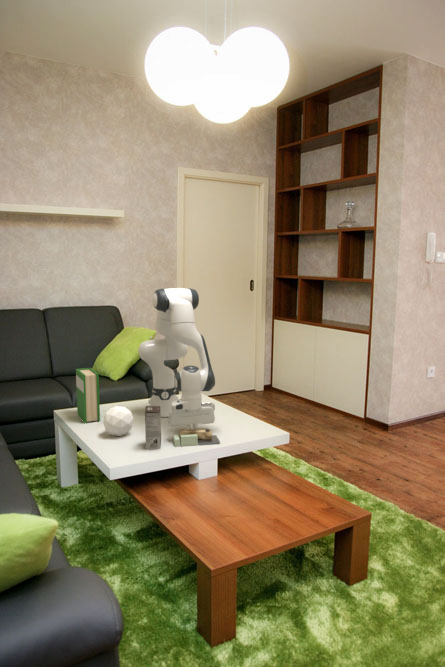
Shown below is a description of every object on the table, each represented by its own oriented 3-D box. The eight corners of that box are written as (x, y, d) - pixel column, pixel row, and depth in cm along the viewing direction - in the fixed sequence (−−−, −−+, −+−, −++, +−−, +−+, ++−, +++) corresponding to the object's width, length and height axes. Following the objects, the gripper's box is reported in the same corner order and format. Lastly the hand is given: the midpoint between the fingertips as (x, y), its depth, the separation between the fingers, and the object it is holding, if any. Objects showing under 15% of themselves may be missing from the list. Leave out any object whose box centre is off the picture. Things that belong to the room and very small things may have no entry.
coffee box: (146, 442, 228) (145, 405, 226) (161, 441, 229) (160, 405, 227) (145, 449, 219) (144, 411, 217) (160, 448, 220) (160, 411, 218)
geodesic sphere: (99, 418, 245) (101, 399, 236) (128, 414, 250) (132, 396, 241) (104, 443, 236) (106, 424, 227) (134, 439, 241) (138, 421, 232)
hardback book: (100, 421, 259) (98, 373, 256) (84, 423, 256) (83, 375, 253) (91, 413, 275) (90, 367, 272) (77, 414, 272) (75, 368, 269)
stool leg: (212, 437, 231) (212, 428, 230) (211, 439, 227) (211, 430, 227) (181, 436, 232) (181, 427, 232) (179, 438, 229) (179, 429, 228)
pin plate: (196, 438, 233) (196, 436, 233) (216, 437, 234) (216, 435, 234) (199, 445, 224) (198, 442, 224) (219, 443, 226) (219, 441, 226)
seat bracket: (173, 441, 228) (173, 432, 228) (195, 440, 230) (195, 431, 230) (174, 446, 222) (174, 437, 222) (197, 445, 224) (197, 436, 224)
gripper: (213, 400, 236) (213, 430, 238) (167, 402, 232) (168, 433, 233) (216, 403, 230) (216, 434, 232) (169, 406, 226) (170, 437, 227)
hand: (191, 434), depth 233 cm, fingers closed
